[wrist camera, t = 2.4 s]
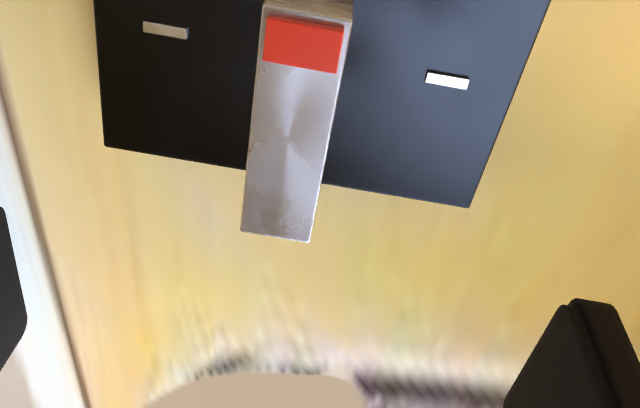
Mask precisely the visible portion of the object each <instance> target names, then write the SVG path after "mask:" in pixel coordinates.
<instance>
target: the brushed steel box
mask: <svg viewBox="0 0 640 408" xmlns="http://www.w3.org/2000/svg"><path fill="white" fill-rule="evenodd" d="M353 9H354V0H265V1H264V3H263V5H262V14H261V24H260V34H259V44H258V54H257V64H256V74H255V85H254V95H253V105H252V115H251V125H250V135H249V145H248V155H247V165H246V176H245V186H244V196H243V206H242V216H241V226H240V230H241V231H242V232H248V233H254V234H260V235H266V236H272V237H278V238H284V239H290V240H296V241H302V242H309V241H310V238H311V232H312V227H313V222H314V217H315V212H316V207H317V202H318V197H319V192H320V186H321V181H322V176H323V171H324V166H325V161H326V156H327V151H328V146H329V140H330V135H331V130H332V125H333V120H334V115H335V110H336V105H337V99H338V94H339V89H340V84H341V79H342V74H343V69H344V64H345V59H346V53H347V48H348V43H349V38H350V33H351V28H352V23H353Z"/></svg>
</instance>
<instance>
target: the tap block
mask: <svg viewBox="0 0 640 408" xmlns="http://www.w3.org/2000/svg"><path fill="white" fill-rule="evenodd" d="M264 1H265V0H93V2H94V16H95V29H96V42H97V55H98V69H99V82H100V95H101V108H102V122H103V135H104V145H105V146H106V147H112V148H117V149H123V150H129V151H135V152H141V153H147V154H153V155H158V156H164V157H170V158H176V159H182V160H188V161H194V162H200V163H205V164H211V165H217V166H223V167H229V168H235V169H241V170H246V165H247V155H248V145H249V135H250V125H251V115H252V105H253V95H254V85H255V74H256V64H257V54H258V44H259V34H260V24H261V14H262V5H263V3H264ZM550 2H551V0H354V9H353V23H352V28H351V33H350V38H349V43H348V48H347V53H346V59H345V64H344V69H343V74H342V79H341V84H340V89H339V94H338V99H337V105H336V110H335V115H334V120H333V125H332V130H331V135H330V140H329V146H328V151H327V156H326V161H325V166H324V171H323V176H322V181H321V183H323V184H329V185H334V186H340V187H346V188H352V189H358V190H364V191H370V192H375V193H381V194H387V195H393V196H399V197H405V198H411V199H417V200H422V201H428V202H434V203H440V204H446V205H452V206H458V207H463V208H469V207H470V204H471V202H472V199H473V197H474V194H475V192H476V189H477V187H478V184H479V182H480V179H481V177H482V174H483V171H484V169H485V166H486V164H487V161H488V159H489V156H490V154H491V151H492V149H493V146H494V144H495V141H496V139H497V136H498V134H499V131H500V128H501V126H502V123H503V121H504V118H505V116H506V113H507V111H508V108H509V106H510V103H511V101H512V98H513V96H514V93H515V91H516V88H517V85H518V83H519V80H520V78H521V75H522V73H523V70H524V68H525V65H526V63H527V60H528V58H529V55H530V53H531V50H532V48H533V45H534V42H535V40H536V37H537V35H538V32H539V30H540V27H541V25H542V22H543V20H544V17H545V15H546V12H547V10H548V7H549V4H550Z"/></svg>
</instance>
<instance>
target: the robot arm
mask: <svg viewBox="0 0 640 408" xmlns="http://www.w3.org/2000/svg"><path fill="white" fill-rule="evenodd" d="M26 325H27V313H26V308H25V304H24V299H23V294H22V289H21V285H20V280H19V275H18V271H17V266H16V261H15V257H14V252H13V247H12V243H11V238H10V233H9V229H8V224H7V219H6V215H5V211H4V209H3V208H2V207H0V371H1V369H2V368H3V366H4V364H5V363H6V361H7V360H8V358H9V357H10V355H11V353H12V352H13V350H14V349H15V347H16V346H17V344H18V342H19V341H20V339H21V338H22V336H23V334H24V331H25V329H26ZM503 408H640V362H639V360H638V358H637V356H636V353H635V351H634V349H633V347H632V344H631V342H630V340H629V338H628V335H627V333H626V331H625V329H624V326H623V324H622V322H621V319H620V317H619V315H618V313H617V311H616V309H615V308H614V306H612V305H611V304H607V303H601V302H596V301H590V300H584V299H577V298H575V299H573V300H572V301H571V302H570V303H569V304H568V305H561V306H560V307H559V308H558V309H557V311H556V312H555V314H554V316H553V318H552V319H551V321H550V323H549V324H548V326H547V328H546V329H545V331H544V333H543V335H542V336H541V338H540V340H539V341H538V343H537V345H536V347H535V348H534V350H533V352H532V353H531V355H530V357H529V358H528V360H527V362H526V364H525V365H524V367H523V369H522V370H521V372H520V374H519V375H518V377H517V379H516V381H515V382H514V384H513V386H512V387H511V389H510V391H509V392H508V394H507V396H506V398H505V401H504V406H503Z"/></svg>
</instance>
